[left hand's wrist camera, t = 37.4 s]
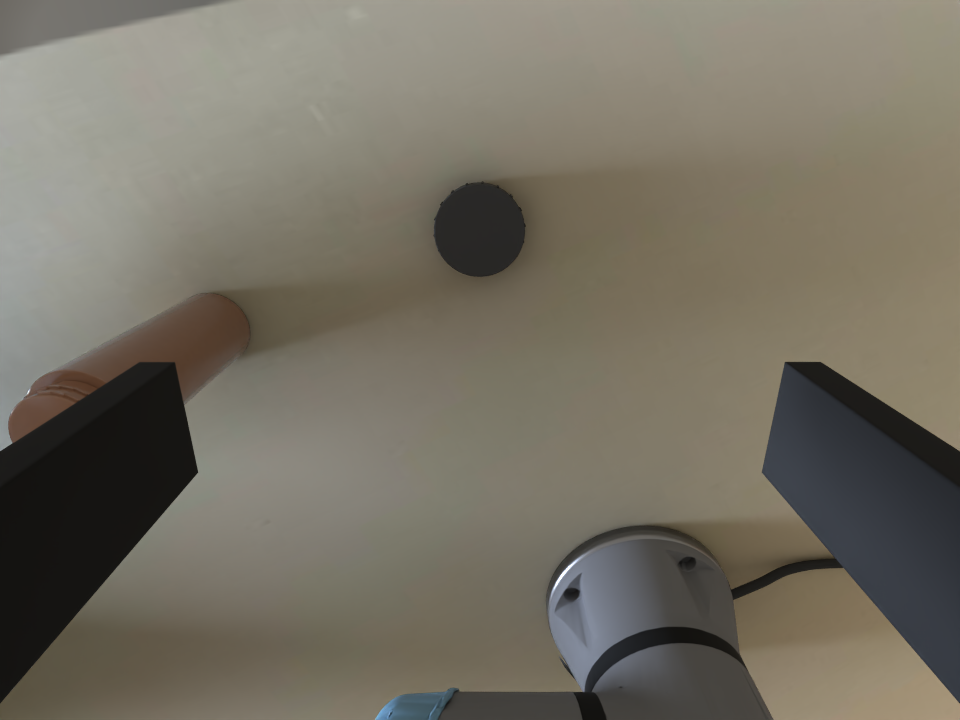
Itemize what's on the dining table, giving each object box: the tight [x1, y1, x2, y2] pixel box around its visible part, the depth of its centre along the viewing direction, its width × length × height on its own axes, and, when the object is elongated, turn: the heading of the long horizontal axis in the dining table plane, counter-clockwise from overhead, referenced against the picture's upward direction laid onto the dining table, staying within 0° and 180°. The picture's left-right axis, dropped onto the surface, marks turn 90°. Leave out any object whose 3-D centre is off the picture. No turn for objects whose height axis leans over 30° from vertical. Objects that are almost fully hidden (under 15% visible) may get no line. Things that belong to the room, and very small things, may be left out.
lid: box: [434, 181, 526, 277], centre depth 36 cm, size 6×6×2 cm
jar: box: [8, 293, 250, 443], centre depth 32 cm, size 5×5×16 cm
